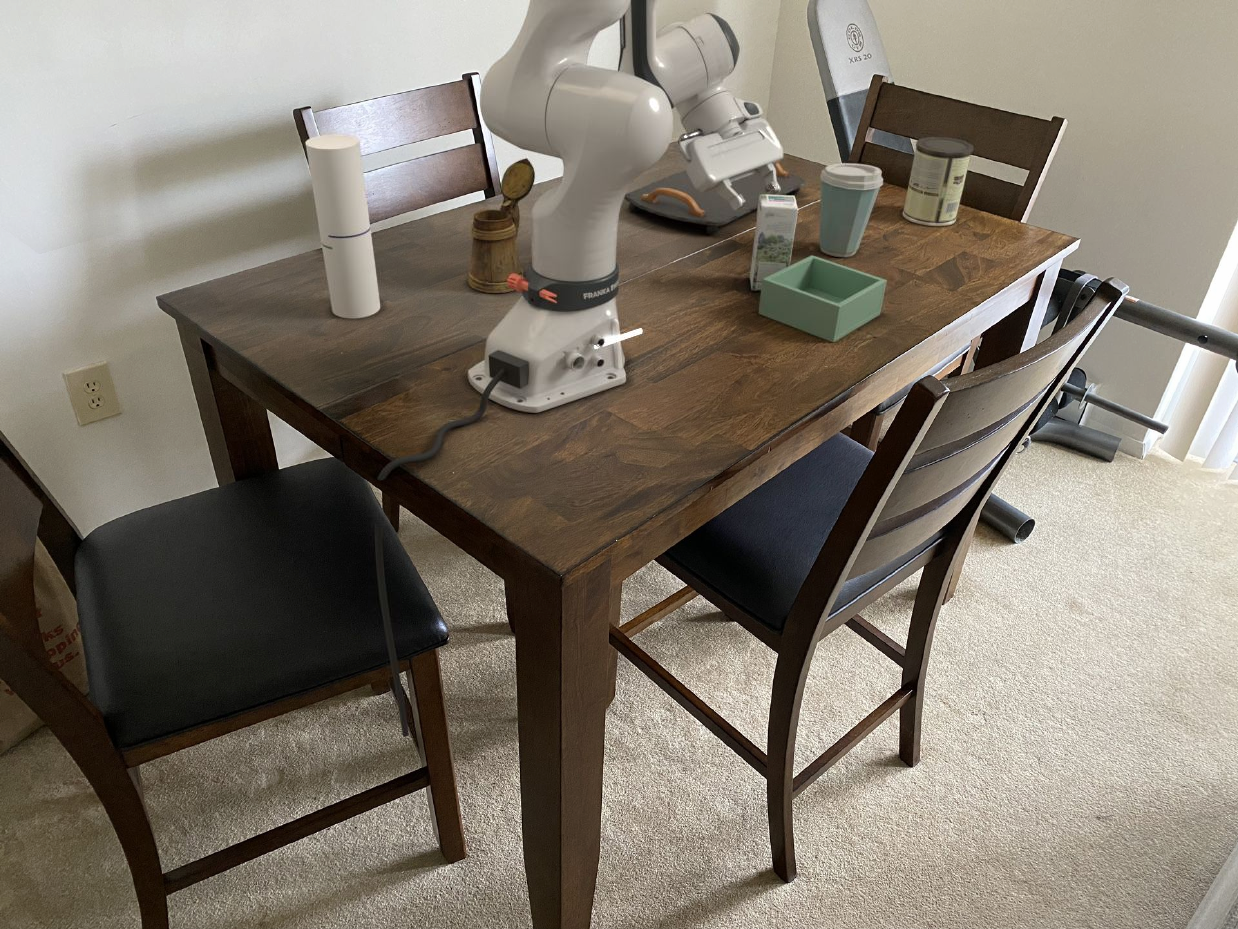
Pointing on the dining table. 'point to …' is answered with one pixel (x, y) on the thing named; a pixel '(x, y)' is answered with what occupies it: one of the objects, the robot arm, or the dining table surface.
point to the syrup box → (772, 237)
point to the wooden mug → (500, 233)
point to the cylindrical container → (344, 224)
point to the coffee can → (937, 181)
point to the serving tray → (705, 198)
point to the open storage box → (822, 297)
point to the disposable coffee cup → (846, 206)
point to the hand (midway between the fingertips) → (758, 200)
